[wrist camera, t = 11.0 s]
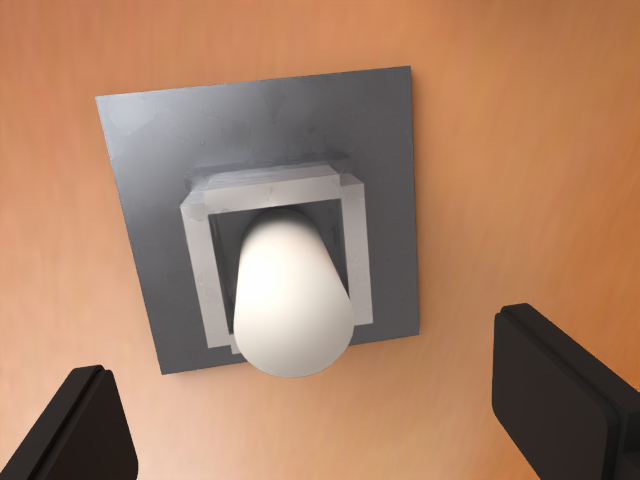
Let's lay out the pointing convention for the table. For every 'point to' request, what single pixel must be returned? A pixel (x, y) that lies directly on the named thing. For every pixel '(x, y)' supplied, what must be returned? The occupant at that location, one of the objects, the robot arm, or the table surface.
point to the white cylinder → (289, 298)
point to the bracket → (265, 197)
